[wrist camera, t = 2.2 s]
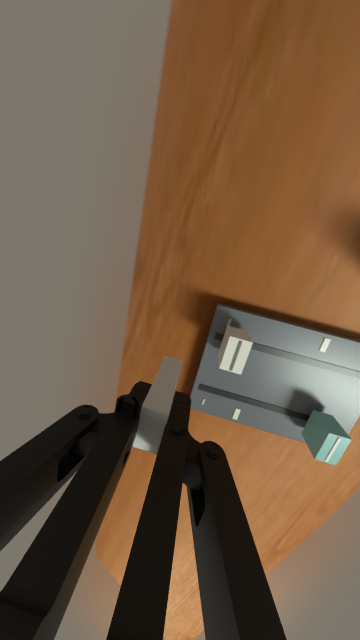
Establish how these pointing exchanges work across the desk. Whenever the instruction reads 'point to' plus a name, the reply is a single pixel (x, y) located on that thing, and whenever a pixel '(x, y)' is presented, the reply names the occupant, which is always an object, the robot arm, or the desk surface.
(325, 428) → the teal fader
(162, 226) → the desk surface
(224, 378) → the console
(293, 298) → the desk surface
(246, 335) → the ivory fader
